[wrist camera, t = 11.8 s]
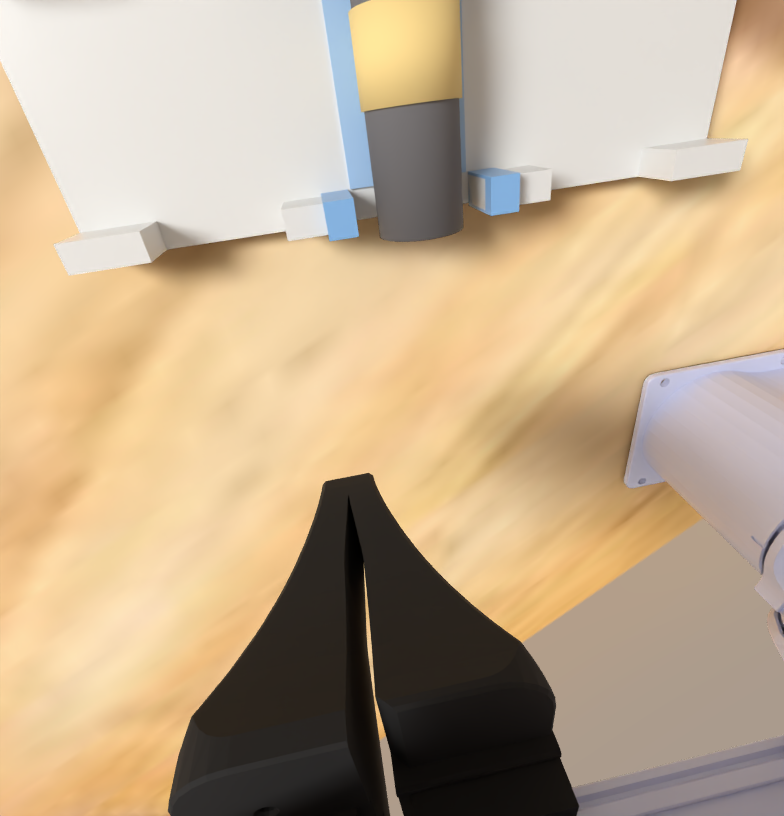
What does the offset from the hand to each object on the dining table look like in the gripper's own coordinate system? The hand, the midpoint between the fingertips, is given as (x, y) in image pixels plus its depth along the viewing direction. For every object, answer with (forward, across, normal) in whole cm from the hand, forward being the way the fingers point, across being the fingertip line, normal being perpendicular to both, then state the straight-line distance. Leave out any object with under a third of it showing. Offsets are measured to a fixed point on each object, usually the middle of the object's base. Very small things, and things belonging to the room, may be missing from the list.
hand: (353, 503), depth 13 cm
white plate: (+10, -4, -10) cm, 15 cm away
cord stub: (+9, -4, -11) cm, 14 cm away
